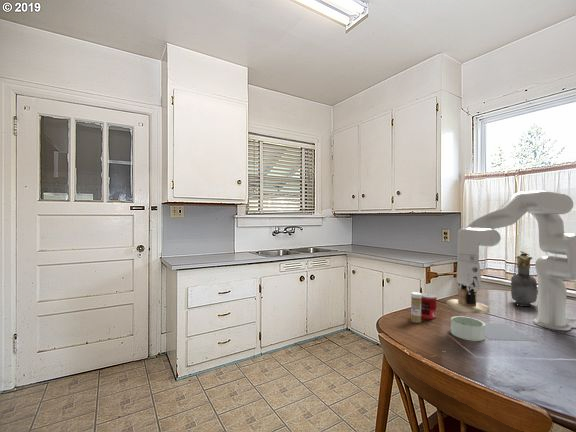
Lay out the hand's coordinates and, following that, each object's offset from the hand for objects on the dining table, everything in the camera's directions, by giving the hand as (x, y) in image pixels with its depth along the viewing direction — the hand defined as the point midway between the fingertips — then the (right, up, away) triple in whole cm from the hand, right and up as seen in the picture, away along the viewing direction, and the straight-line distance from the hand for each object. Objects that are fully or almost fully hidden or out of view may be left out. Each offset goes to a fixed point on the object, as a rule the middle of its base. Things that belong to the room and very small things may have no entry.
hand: (467, 301), depth 119 cm
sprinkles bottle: (-14, -14, +16) cm, 26 cm away
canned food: (-6, -14, +21) cm, 26 cm away
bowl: (0, -14, 0) cm, 14 cm away
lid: (0, -2, 0) cm, 2 cm away
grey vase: (+58, -14, +42) cm, 73 cm away
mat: (+15, -14, +4) cm, 21 cm away
